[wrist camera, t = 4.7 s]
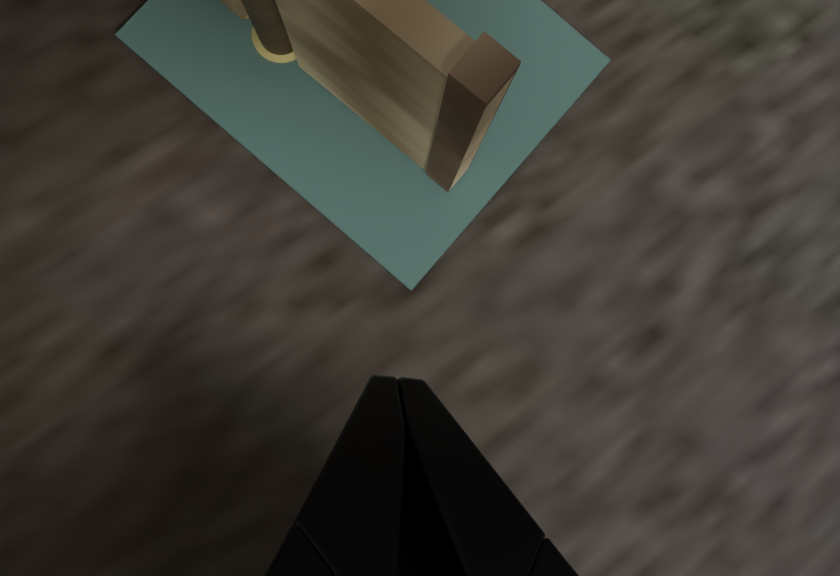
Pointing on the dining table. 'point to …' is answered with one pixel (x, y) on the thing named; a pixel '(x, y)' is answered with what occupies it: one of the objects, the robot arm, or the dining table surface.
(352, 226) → the card
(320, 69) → the fence panel
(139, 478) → the dining table surface
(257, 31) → the fence post and fixed rail
